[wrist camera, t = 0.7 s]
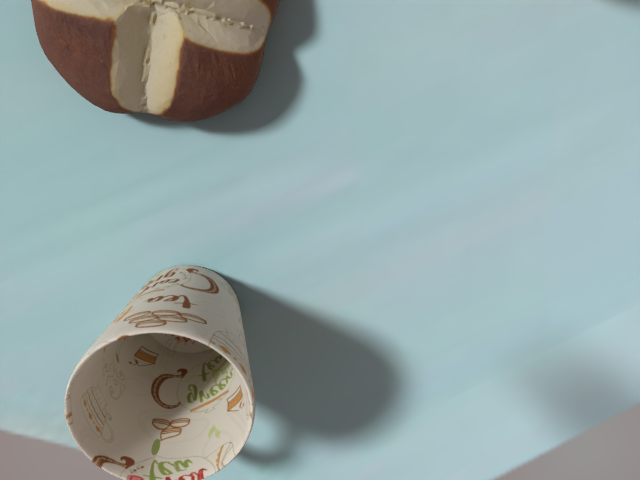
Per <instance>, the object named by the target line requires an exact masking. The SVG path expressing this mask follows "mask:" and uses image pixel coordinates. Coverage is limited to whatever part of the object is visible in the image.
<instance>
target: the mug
mask: <svg viewBox="0 0 640 480" xmlns="http://www.w3.org/2000/svg"><path fill="white" fill-rule="evenodd" d="M64 407H65V416H66V421H67V425H68V428H69V430H70V433H71V435H72V437H73V439H74V441H75V442H76V444H77V445H78V447H79V448H80V449H81V450H82V452H83V453H84V454H85V455H86V456H87V457H88V458H89V459H90V460H91V461H92V462H94V463H95V464H96V465H97V466H99V467H100V468H102V469H103V470H105V471H107V472H108V473H110V474H112V475H114V476H117V477H119V478H121V479H124V480H201V479H204V478H206V477H208V476H210V475H212V474H214V473H216V472H218V471H219V470H221V469H222V468H224V467H225V466H226V465H227V464H229V463H230V462H231V461H232V460H233V459H234V458H235V457H236V456H237V455H238V454H239V452H240V451H241V449H242V448H243V447H244V445H245V443H246V441H247V439H248V437H249V435H250V432H251V430H252V426H253V422H254V416H255V396H254V388H253V382H252V376H251V370H250V364H249V358H248V353H247V347H246V341H245V335H244V329H243V323H242V317H241V311H240V306H239V302H238V299H237V296H236V294H235V292H234V290H233V289H232V287H231V286H230V285H229V284H228V282H227V281H226V280H224V279H223V278H222V277H221V276H220V275H218V274H217V273H215V272H213V271H211V270H209V269H206V268H203V267H199V266H192V265H182V266H175V267H171V268H168V269H165V270H163V271H161V272H159V273H158V274H156V275H155V276H154V277H152V278H151V279H150V280H149V281H148V282H147V283H146V284H145V285H144V286H143V287H142V289H141V290H140V291H139V292H138V293H137V294H136V295H135V297H134V298H133V299H132V300H131V301H130V302H129V304H128V305H127V306H126V307H125V308H124V309H123V310H122V312H121V313H120V314H119V315H118V316H117V317H116V318H115V320H114V321H113V322H112V323H111V324H110V325H109V326H108V328H107V329H106V330H105V331H104V332H103V333H102V335H101V336H100V337H99V338H98V339H97V340H96V341H95V343H94V344H93V345H92V346H91V347H90V348H89V349H88V351H87V352H86V353H85V354H84V356H83V357H82V358H81V360H80V361H79V363H78V364H77V366H76V367H75V369H74V371H73V373H72V375H71V377H70V379H69V382H68V385H67V389H66V394H65V406H64Z"/></svg>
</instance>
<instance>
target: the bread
mask: <svg viewBox="0 0 640 480" xmlns="http://www.w3.org/2000/svg"><path fill="white" fill-rule="evenodd" d="M279 1H280V0H31V2H32V8H33V15H34V21H35V27H36V32H37V35H38V38H39V42H40V45H41V47H42V49H43V51H44V53H45V55H46V56H47V58H48V60H49V61H50V62H51V63H52V65H53V66H54V67H55V69H56V70H57V71H58V72H59V74H60V75H61V76H62V77H63V78H64V79H65V80H66V82H67V83H68V84H69V85H70V86H71V87H72V88H73V89H74V90H76V91H77V92H78V93H79V94H80V95H81V96H83V97H84V98H85V99H86V100H88V101H89V102H91V103H92V104H94V105H96V106H98V107H100V108H102V109H103V110H105V111H109V112H113V113H121V114H124V113H139V112H142V113H144V112H145V113H149V114H152V115H155V116H158V117H162V118H165V119H168V120H177V121H197V120H202V119H206V118H209V117H212V116H214V115H217V114H219V113H221V112H224V111H226V110H228V109H230V108H232V107H233V106H235V105H237V104H238V103H240V102H241V101H242V100H243V99H244V98H245V97H246V96H247V95H248V94H249V93H250V92H251V90H252V88H253V86H254V84H255V82H256V79H257V77H258V74H259V71H260V67H261V63H262V58H263V49H264V44H265V40H266V36H267V32H268V30H269V27H270V25H271V23H272V21H273V19H274V16H275V14H276V12H277V9H278V6H279Z"/></svg>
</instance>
